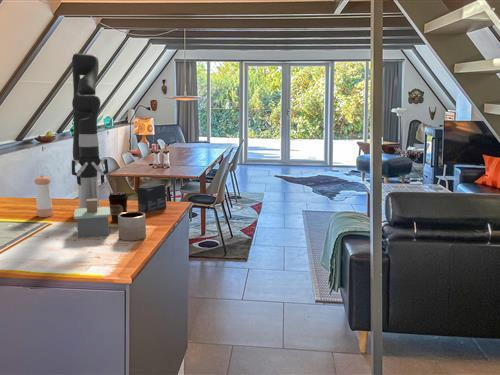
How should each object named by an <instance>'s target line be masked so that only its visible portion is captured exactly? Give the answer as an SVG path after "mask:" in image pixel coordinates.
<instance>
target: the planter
mask: <svg viewBox="0 0 500 375" xmlns="http://www.w3.org/2000/svg"><path fill="white" fill-rule="evenodd" d="M146 222H147V221H146V212H144V211H127V212H124V213H121V214H119V215H118V222H117V230H118V231H117V232H118V238H119V239H120V240H121V241H125V242H136V241H140V240H143V239H145V238H146V237H147V226H146V225H147V224H146Z"/></svg>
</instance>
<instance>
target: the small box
mask: <svg viewBox="0 0 500 375" xmlns="http://www.w3.org/2000/svg"><path fill="white" fill-rule="evenodd" d="M136 189H137V191H136V192H137V207H138V208H137V209H138V210H137V211H138V212H143V213H150V211H151V212H154V211H158V210H161V209H165V208H167V195H166V184H165V183H157V182H155V183H151V184H145V185H141V186H137V188H136Z"/></svg>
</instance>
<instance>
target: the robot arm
mask: <svg viewBox="0 0 500 375" xmlns="http://www.w3.org/2000/svg"><path fill="white" fill-rule="evenodd" d="M99 67H100V66H99V58H98V56H96V55H95V54H88V53H74V54H73V55H72V61H71V68H72V70H71V71H72V84H73V85H72V87H73V94H72V96H73V98H72V103H71V104H72V112H73V114H72V115H73V136H72V137H73V139H72V140H73V141H72V160H71V175H72V176H75V177H76V183H77V189H78V191H77V192H78V209H79V208H87V199H96V198H97V207H100V198H99V196H100V195H99V181H98V180H99V179H98V176H99V175H98V173H99V174H100V185H104V183H105V175H107V174H109V173H110V172H109V166H108V165H109V164H108V159H107V158H106V157H105V158H103V159H100V150H99V149H100V148H99V144H100V142H99V136H98V116H99V112H100V108H101V99H100V97H99V96H98V95H97V94H96V83H97V79H98V75H99V69H100V68H99ZM81 76H82V77H81ZM78 164H79V165H80V166H81V167H80V168H79V170H78V171H76V166H77V165H78ZM100 164H102V165H104V168H105V169H104V170H103V169H101V167H100Z"/></svg>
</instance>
